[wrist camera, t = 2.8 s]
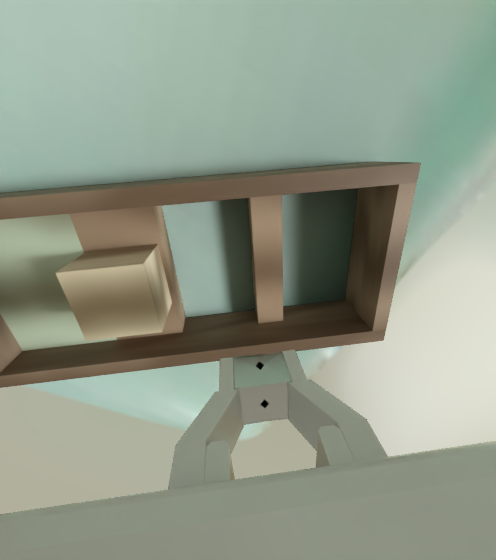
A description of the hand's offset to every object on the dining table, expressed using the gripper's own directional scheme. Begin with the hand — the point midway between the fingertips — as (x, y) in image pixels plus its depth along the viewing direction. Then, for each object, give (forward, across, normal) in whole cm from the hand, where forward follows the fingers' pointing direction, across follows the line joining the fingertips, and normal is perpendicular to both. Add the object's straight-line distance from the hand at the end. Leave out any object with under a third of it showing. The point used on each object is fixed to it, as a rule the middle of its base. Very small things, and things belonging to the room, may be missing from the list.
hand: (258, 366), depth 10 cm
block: (+9, +8, -1) cm, 12 cm away
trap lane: (+11, +4, -1) cm, 12 cm away
